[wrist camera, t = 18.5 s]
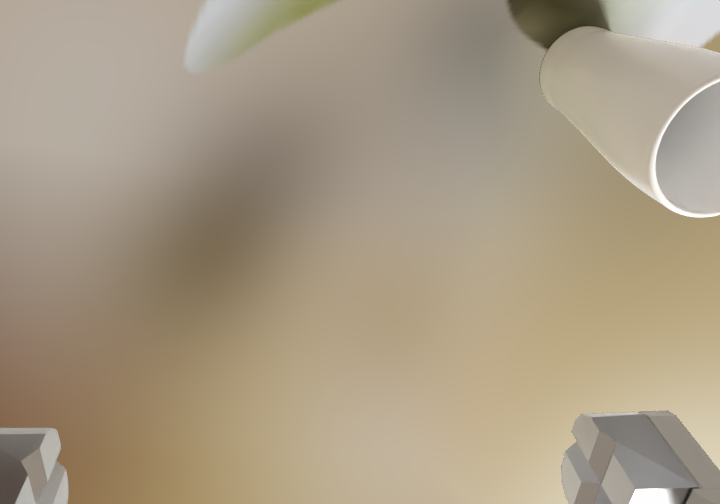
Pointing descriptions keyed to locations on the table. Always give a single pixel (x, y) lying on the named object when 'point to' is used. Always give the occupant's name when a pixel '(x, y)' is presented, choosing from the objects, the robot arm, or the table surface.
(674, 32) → the table surface
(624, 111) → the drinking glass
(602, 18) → the table surface
